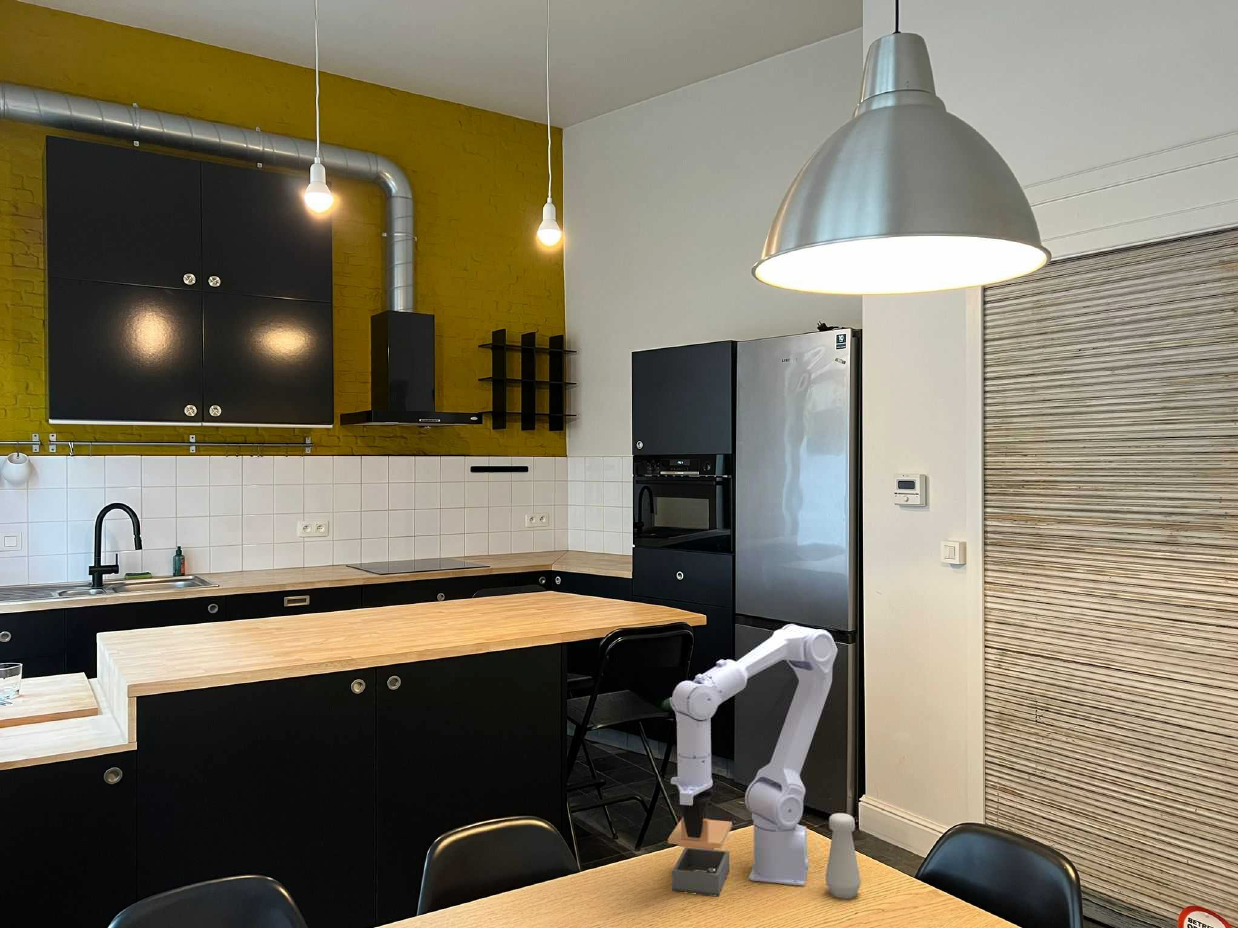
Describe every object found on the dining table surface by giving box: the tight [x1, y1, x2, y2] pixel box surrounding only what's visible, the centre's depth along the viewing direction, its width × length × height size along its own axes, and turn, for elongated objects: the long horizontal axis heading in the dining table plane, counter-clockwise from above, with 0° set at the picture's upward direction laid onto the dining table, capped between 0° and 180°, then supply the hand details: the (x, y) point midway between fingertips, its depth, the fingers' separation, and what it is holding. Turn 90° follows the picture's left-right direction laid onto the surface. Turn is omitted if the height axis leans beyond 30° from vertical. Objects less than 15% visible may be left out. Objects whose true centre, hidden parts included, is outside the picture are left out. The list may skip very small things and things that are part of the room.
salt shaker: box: [825, 812, 862, 900], centre depth 156 cm, size 6×6×13 cm
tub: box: [671, 847, 730, 897], centre depth 161 cm, size 8×11×4 cm
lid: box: [667, 816, 733, 850], centre depth 162 cm, size 9×12×5 cm
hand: (695, 834), depth 157 cm, fingers closed on lid
